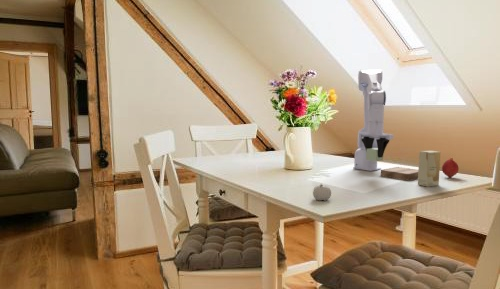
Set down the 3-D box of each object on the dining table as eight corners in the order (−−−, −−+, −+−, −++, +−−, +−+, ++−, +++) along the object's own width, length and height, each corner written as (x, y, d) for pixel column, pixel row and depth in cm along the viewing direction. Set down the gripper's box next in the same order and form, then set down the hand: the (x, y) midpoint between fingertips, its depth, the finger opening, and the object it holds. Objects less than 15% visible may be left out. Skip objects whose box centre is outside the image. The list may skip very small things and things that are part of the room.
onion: (441, 178, 153) (442, 158, 153) (441, 175, 159) (442, 156, 158) (458, 179, 151) (459, 158, 150) (458, 177, 156) (459, 157, 155)
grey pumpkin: (321, 203, 116) (321, 186, 116) (308, 199, 121) (308, 183, 120) (335, 200, 120) (335, 183, 119) (322, 197, 124) (322, 180, 124)
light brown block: (380, 176, 159) (380, 169, 158) (397, 172, 166) (397, 166, 166) (408, 180, 149) (408, 174, 149) (424, 176, 157) (425, 170, 156)
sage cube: (366, 160, 155) (366, 148, 155) (373, 159, 158) (373, 147, 158) (376, 161, 152) (376, 149, 151) (383, 160, 155) (383, 148, 154)
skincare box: (427, 187, 138) (429, 152, 136) (417, 184, 141) (418, 151, 140) (439, 185, 141) (441, 151, 139) (429, 183, 144) (430, 150, 143)
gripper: (354, 121, 157) (353, 155, 158) (386, 123, 145) (384, 159, 147) (365, 121, 161) (364, 154, 162) (397, 122, 149) (395, 157, 151)
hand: (374, 156), depth 155 cm, fingers closed on sage cube, 4 cm apart
